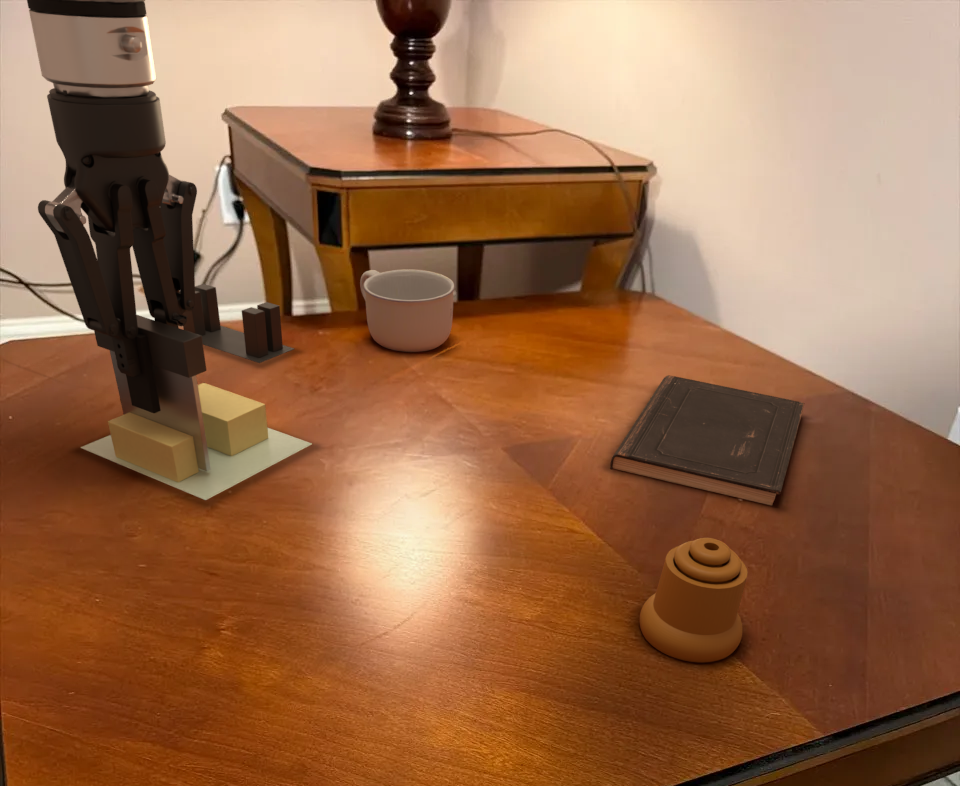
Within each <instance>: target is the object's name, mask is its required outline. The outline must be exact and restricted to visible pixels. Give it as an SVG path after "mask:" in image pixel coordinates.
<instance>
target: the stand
mask: <svg viewBox="0 0 960 786" xmlns="http://www.w3.org/2000/svg"><path fill="white" fill-rule="evenodd" d="M179 293H180V291H179ZM219 311H220V310H219V302H218V294H217V288H216V286H212V285H209V284H207V283H206V284H205V283H202V284H198V285H195V308H194V309H193V310H192V311H185V312H184V313H183V314H182V315H184V316H187V322H186V324H185V325H184V326H182V327H183V328H182V329H183V330H186V331H189V332H192V333H195V334H198V335H201V336H202V343H203V346H206V347H207V348H208V347H209V348H211V349H215V350H218V351H220V352H224V353H227V354H230V355H234V356H236V357H238V358H239V357H240V358H243V359H246V360H249V361H251V362H255V363H258V364H262V363H264V362H266V361H268V360H271V359H274V358H276V357H279V356H281V355H284V354H286V353H288V352H291V351H294V350H295V348H294V347H291V346H287V345H284V344H283V333H282V321H281V307H280V305H278V304H274V303H272V302H268V301H266V302H262V303H259V304H257V305H256V308H255V307H253V306H250V307H247V308H245V309H242V310H241V319H242V328H243V332H242V331H239V330H236V329H233V328H230V327H226V326H223V325H221V319H220V312H219Z"/></svg>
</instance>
